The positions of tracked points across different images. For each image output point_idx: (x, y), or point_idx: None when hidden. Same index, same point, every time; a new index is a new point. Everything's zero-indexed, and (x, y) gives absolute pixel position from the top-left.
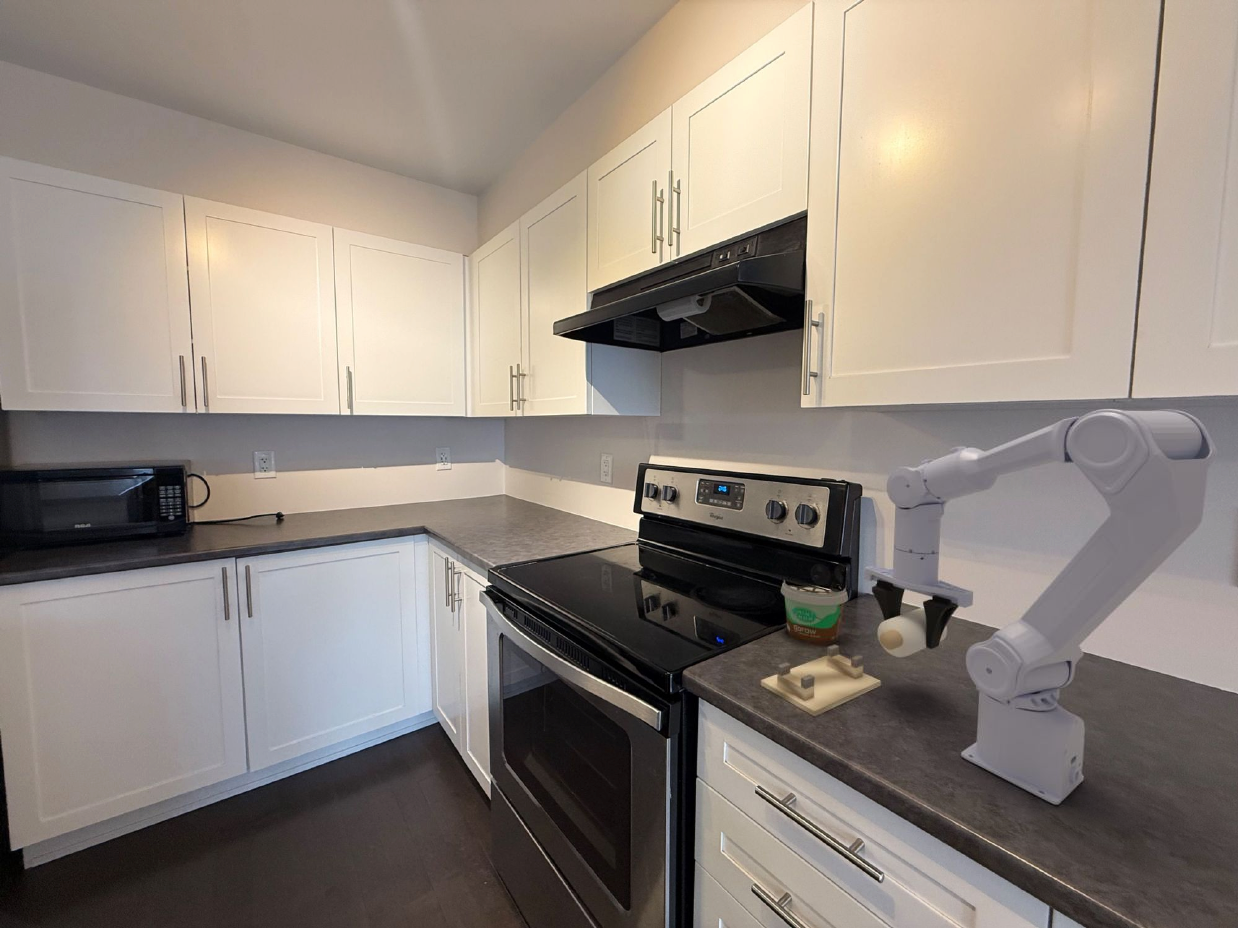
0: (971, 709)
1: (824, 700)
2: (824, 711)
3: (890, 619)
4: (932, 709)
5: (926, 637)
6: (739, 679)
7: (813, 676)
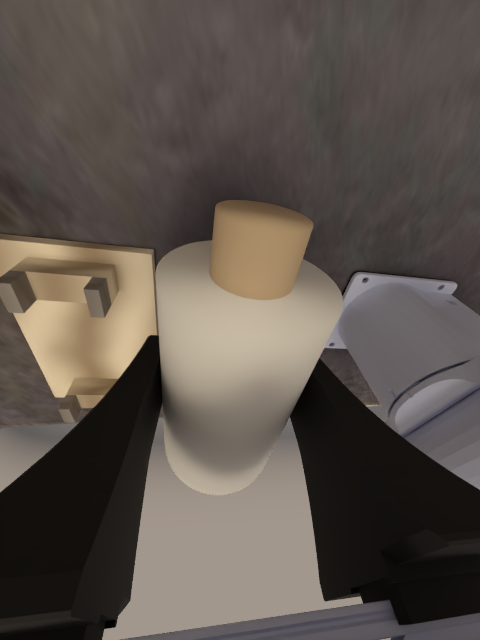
0: (323, 193)
1: None
2: None
3: (200, 489)
4: None
5: None
6: (30, 399)
7: None
